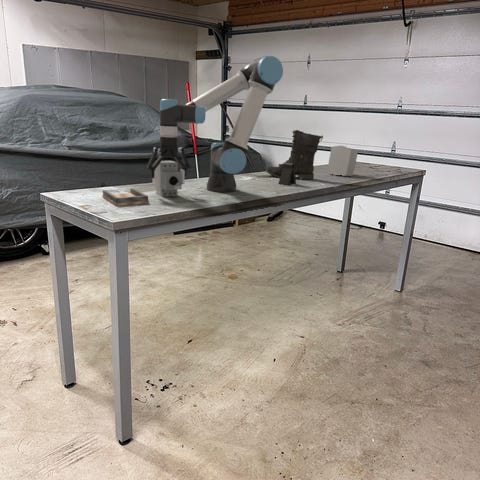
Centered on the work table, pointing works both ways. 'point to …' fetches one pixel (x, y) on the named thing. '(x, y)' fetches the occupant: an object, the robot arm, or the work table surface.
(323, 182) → the work table surface
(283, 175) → the door stopper
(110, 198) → the track
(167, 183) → the circuit breaker
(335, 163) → the electrical switch box
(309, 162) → the boot
